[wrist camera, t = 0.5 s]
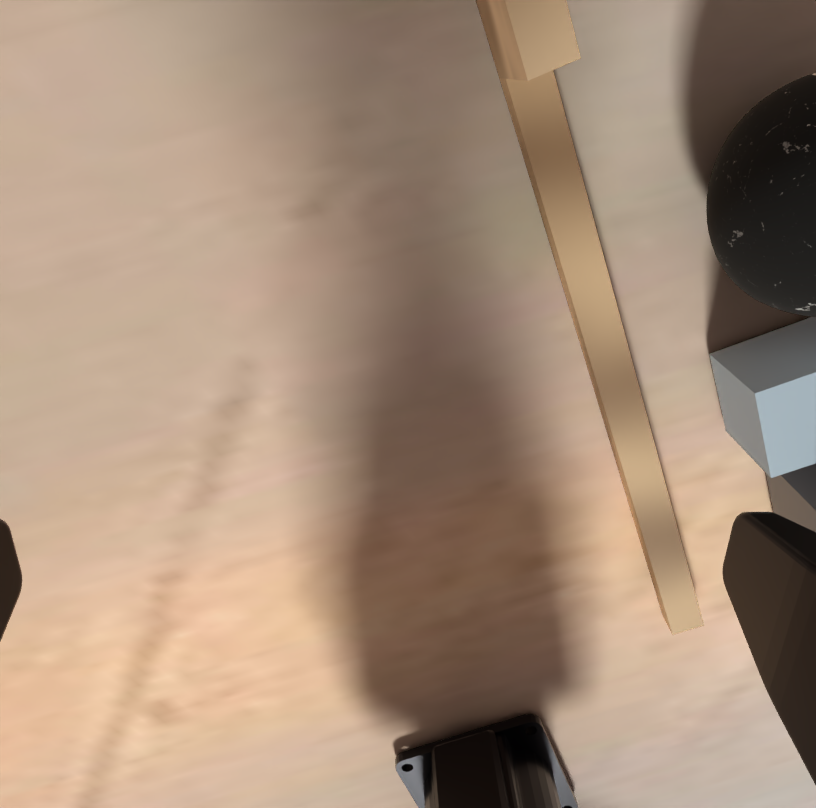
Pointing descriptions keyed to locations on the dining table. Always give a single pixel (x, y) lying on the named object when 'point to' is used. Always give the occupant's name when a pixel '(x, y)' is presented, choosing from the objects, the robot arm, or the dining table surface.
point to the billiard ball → (769, 200)
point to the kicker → (775, 412)
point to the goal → (528, 36)
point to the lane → (601, 336)
